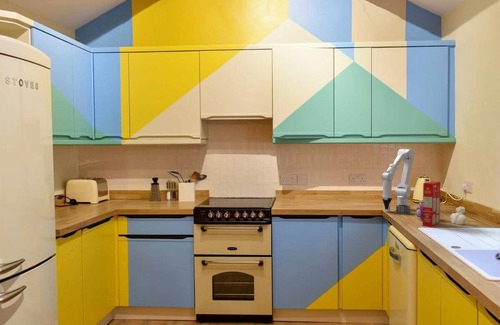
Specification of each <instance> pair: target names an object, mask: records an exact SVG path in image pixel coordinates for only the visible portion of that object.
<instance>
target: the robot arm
mask: <svg viewBox="0 0 500 325" xmlns="http://www.w3.org/2000/svg"><path fill="white" fill-rule="evenodd" d="M396 153H397V156H396V157H395V159H394V161H393V163H391V164H389V165H388V168H387V169H386V171H385V172H383V173H382V174H381V177H380V178H381V180H382V183H383V184H382V195H381V196H380V197H382V202H383V208H384V207H385V209H388V208H389V203H390V204H391V202H392V200H393V196H392V193H393V191H392V190H393V189H392V185H393V180H394V179H395V174H396V172H397V171H398V169H399V168H398V166H399V165H400V164H401V162H402V161H403V162H404V163H403V164H404V165H403V170H402V174H401V178H400V183H398V184H397V185H396V188H395V190H394V194H395V196H396V197H397V198H396V199H397V200H396V202H397V205H409V198H410V196H411V194H412V192H411V191H412V190H411V189H412V187H411V186H410V185H409V182H410V178H411V177H410V176H411V172H412V168H413V163H414V158H415V151H414V149H413V148H399V149H398V151H397V152H396Z"/></svg>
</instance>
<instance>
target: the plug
mask: <svg viewBox="0 0 500 325" xmlns="http://www.w3.org/2000/svg"><path fill="white" fill-rule="evenodd" d="M383 212H384V213H391V202H390V203H389V208H388V209H385V207H384V206H383Z"/></svg>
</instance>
